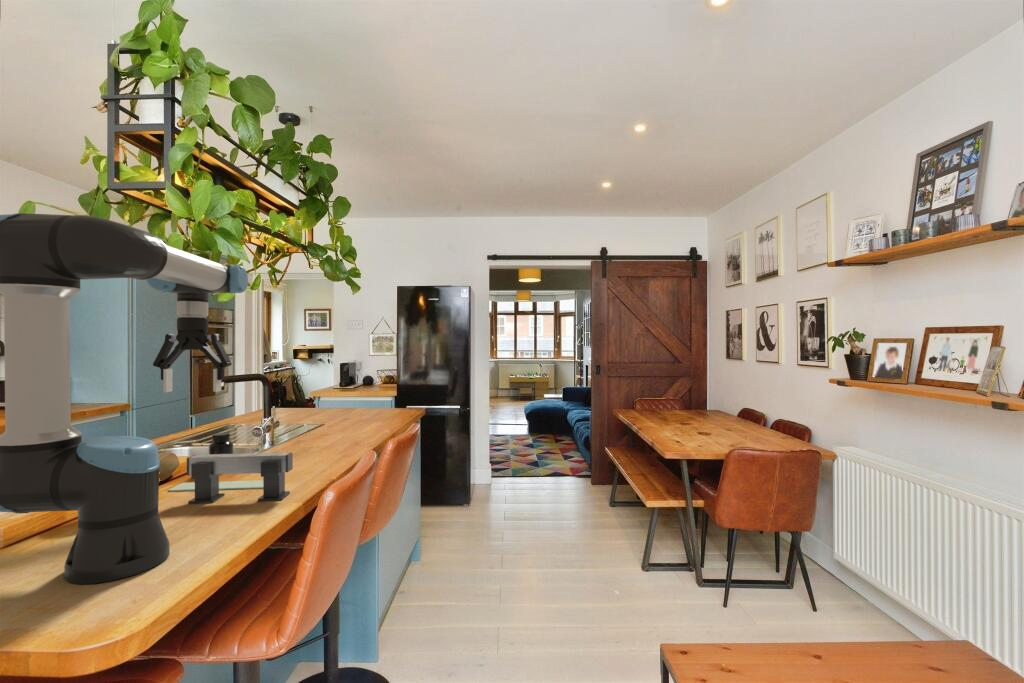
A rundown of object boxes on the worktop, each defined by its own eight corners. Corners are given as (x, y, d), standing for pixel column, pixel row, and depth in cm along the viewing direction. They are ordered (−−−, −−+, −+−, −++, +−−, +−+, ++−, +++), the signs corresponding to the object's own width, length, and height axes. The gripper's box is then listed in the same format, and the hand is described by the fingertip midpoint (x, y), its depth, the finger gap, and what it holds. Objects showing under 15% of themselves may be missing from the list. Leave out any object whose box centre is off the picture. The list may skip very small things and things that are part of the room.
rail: (287, 472, 127) (287, 455, 127) (186, 475, 125) (186, 457, 125) (292, 468, 131) (292, 452, 131) (194, 471, 128) (194, 454, 128)
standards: (281, 500, 126) (281, 461, 126) (188, 503, 123) (188, 464, 123) (290, 493, 132) (290, 456, 132) (201, 496, 130) (201, 458, 130)
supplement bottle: (212, 469, 158) (212, 432, 158) (235, 467, 160) (235, 431, 160) (205, 474, 151) (205, 436, 151) (230, 472, 153) (230, 435, 153)
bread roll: (185, 472, 155) (185, 447, 155) (169, 484, 141) (169, 457, 141) (150, 474, 152) (150, 449, 152) (130, 488, 137) (130, 460, 137)
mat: (272, 488, 137) (272, 486, 137) (167, 491, 134) (167, 490, 134) (282, 481, 144) (282, 479, 144) (182, 484, 141) (182, 482, 141)
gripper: (244, 317, 141) (244, 390, 141) (156, 317, 140) (156, 390, 140) (230, 316, 134) (230, 392, 134) (137, 316, 132) (137, 393, 132)
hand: (192, 391), depth 137 cm, fingers open, 13 cm apart
